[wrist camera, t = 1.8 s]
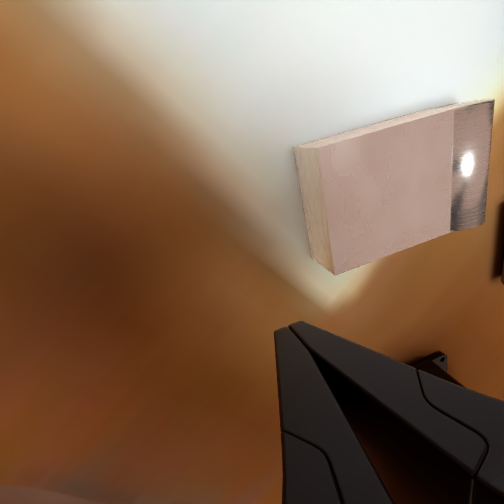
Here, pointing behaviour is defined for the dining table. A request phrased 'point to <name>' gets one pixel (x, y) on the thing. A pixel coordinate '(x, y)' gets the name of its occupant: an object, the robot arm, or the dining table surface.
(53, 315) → the dining table surface
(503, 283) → the striped wooden board
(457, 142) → the pale pink block
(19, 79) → the dining table surface
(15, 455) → the dining table surface
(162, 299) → the dining table surface
